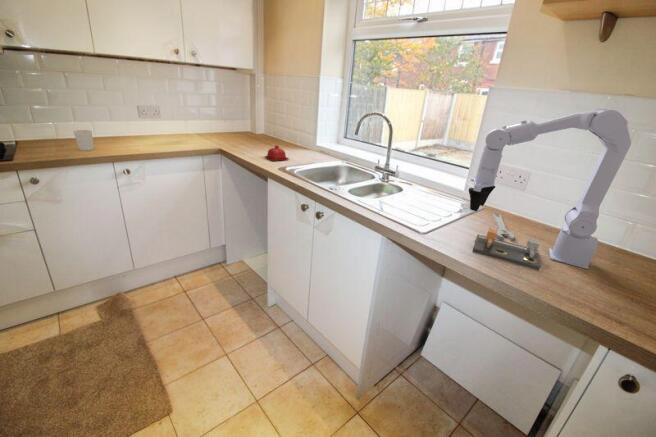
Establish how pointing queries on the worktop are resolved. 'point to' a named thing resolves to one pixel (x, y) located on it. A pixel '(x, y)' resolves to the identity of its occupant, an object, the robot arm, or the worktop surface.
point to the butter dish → (276, 154)
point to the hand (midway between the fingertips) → (476, 207)
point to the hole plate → (510, 251)
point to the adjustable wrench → (502, 229)
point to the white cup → (84, 139)
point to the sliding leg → (491, 236)
